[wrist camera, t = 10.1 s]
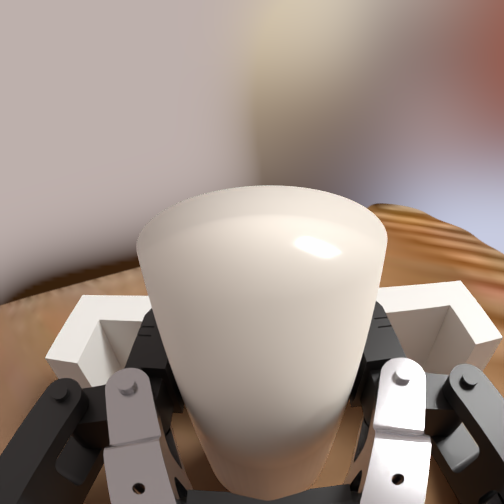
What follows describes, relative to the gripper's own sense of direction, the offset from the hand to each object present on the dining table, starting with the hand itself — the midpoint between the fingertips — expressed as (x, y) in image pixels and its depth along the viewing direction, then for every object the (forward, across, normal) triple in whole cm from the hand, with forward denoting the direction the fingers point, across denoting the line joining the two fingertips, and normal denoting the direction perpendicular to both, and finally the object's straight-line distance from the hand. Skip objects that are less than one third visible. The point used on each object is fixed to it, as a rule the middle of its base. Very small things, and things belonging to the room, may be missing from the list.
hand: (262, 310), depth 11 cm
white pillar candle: (-3, 0, +6) cm, 7 cm away
